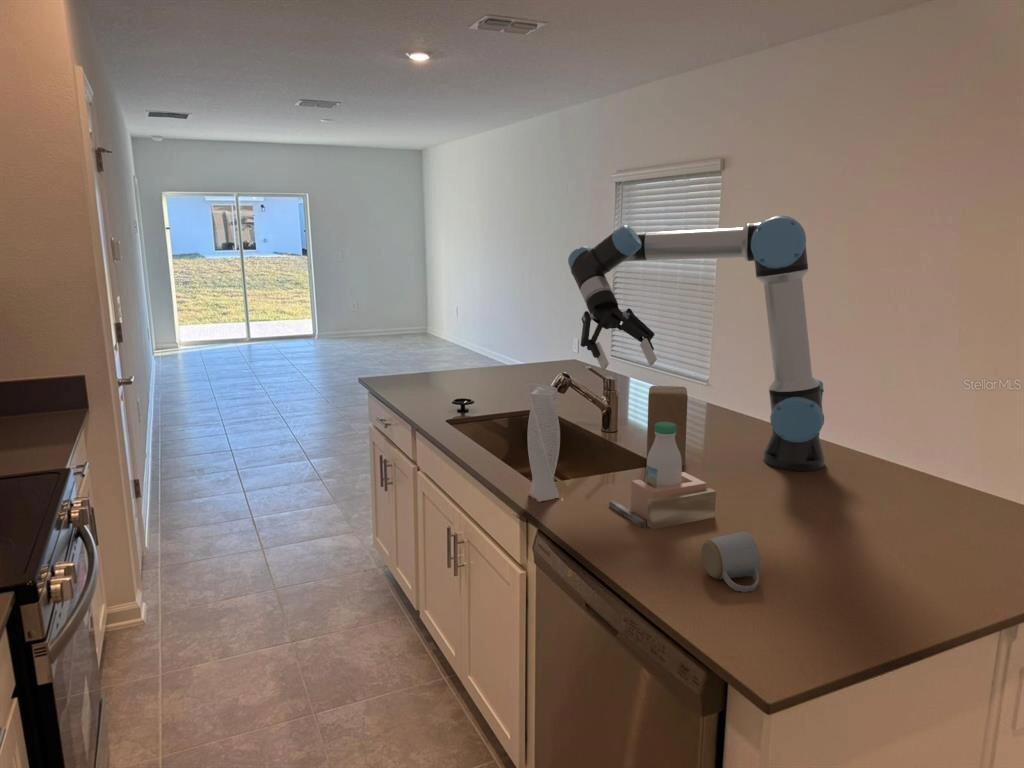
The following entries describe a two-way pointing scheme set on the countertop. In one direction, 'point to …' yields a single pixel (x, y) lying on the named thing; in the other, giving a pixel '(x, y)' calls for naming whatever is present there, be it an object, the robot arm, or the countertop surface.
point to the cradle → (660, 492)
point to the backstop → (674, 509)
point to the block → (668, 413)
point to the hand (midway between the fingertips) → (629, 364)
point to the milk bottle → (664, 458)
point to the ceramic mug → (732, 559)
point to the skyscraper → (543, 441)
